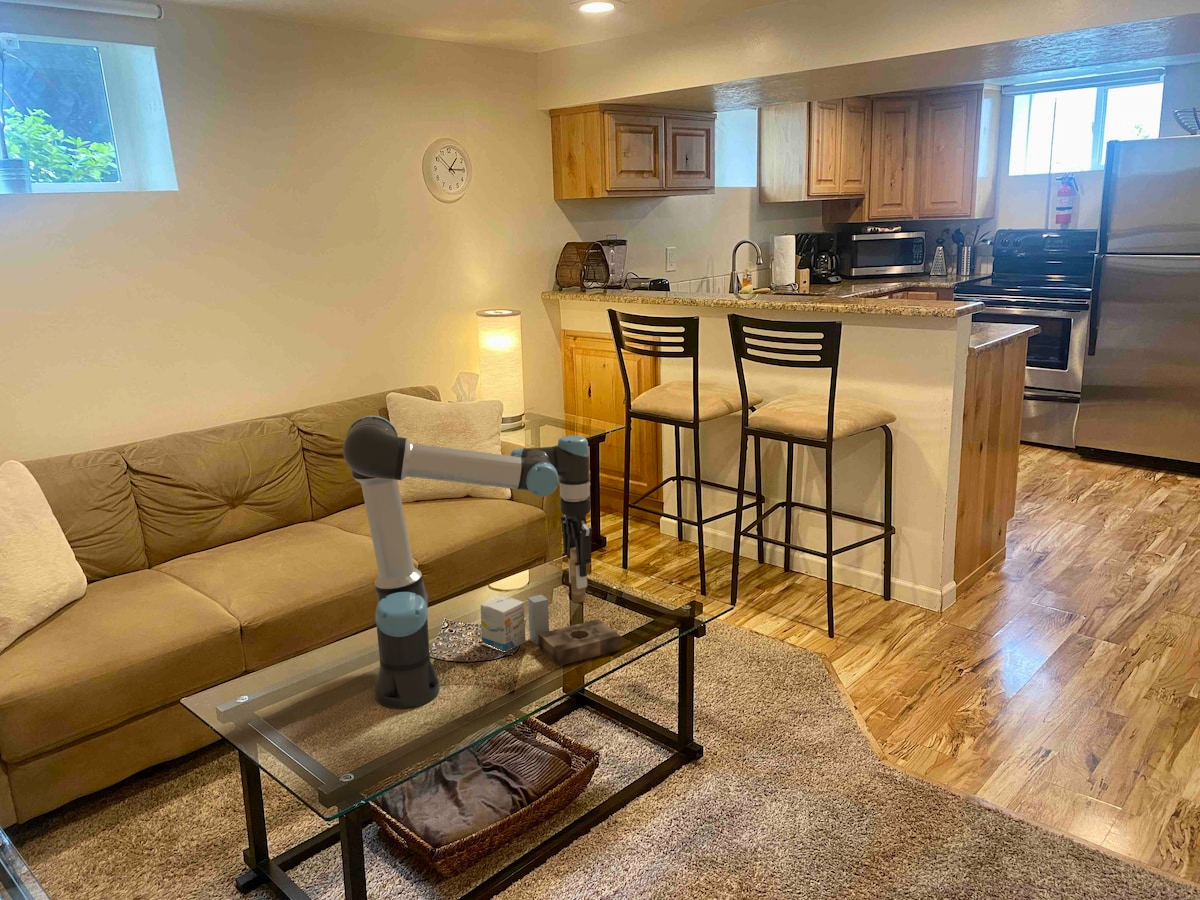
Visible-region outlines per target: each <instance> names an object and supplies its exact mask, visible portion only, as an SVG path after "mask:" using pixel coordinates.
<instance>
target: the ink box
mask: <svg viewBox="0 0 1200 900" xmlns="http://www.w3.org/2000/svg"><path fill="white" fill-rule="evenodd" d="M525 622H526V621H525V602H524V601H522V600H518V599H516V598H512V597H510V596H506V595H500V596H497V597H495V598H493V599H490V600H488V601H487V602H484V603H481V604H480V626H481V643H482V642H484V643H486V644H488V645H491V646H493V647H495V648H497V649H500V650H502V651H507V650H509V649H511V648H513V647H515V648H517V647H518V645H519V646H521V645H522V644H523V643H526V641H527V640H526V626H525V625H526V623H525ZM516 646H517V647H516ZM513 649H514V648H513ZM511 650H512V649H511Z"/></svg>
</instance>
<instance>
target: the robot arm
mask: <svg viewBox="0 0 1200 900" xmlns="http://www.w3.org/2000/svg"><path fill="white" fill-rule="evenodd" d="M557 442H558V443H557V445H554V446H546V447H544V446H543V447H542V446H541V447H523V448H518V449H513V450H511V452H510V455H506V454H497V453H491V452H483V451H474V450H467V449H460V448H458V449H457V448H451V447H443V446H435V445H428V444H421V443H420V444H419V443H412V442H411V441H410V439H409V438H406V437H401V436H398V432H397V430H396V428H395V427H394V425H393V424H392V423H391V422H390V421H389V420H388V419H386V418H384V417H382V416H380V415H379V416H378V415H365V416H363V417H360V418H358V419H357V420H355V421H354V422H353V423H352V424H351V425H350V427H349V428H348V430H347V433H346V437H345V440H344V442H343V445H342V447H343V448H342V454H343V458H344V460H345V463H346V464H347V466H348V467H349V468H350V469H351V470H350V471H351V474H352V478H353V480H355V481H357V482H358V483H359V484H360V486H361V490H362V496H363V501H364V506H365V510H366V515H367V521H368V525H369V526H368V527H369V531H370V536H371V540H372V545H373V546H372V547H373V549H374V550H373V551H374V555H375V560H376V565H377V569H378V570H377V571H378V576H377V578H376V579H375V581H374V588H375V594H376V597H377V605H376V607H375V613H374V621H375V623H376V631H377V632H376V633H377V635H376V636H377V644H378V657H379V670H378V673H377V677H376V681H375V684H374V698H375V701H376V702H377V703H378V705H381V706H383V707H386V708H389V709H410V708H411V709H412V708H415V707H419V706H422V705H425V704H427V703H429V702H431V701H433V700H434V699H435V698H436V697H437V696H438V694H439V693H440V691H441V689H440V678H439V677H438V674H437V672H436V669H435V667H434V666H433V663H432V661H431V655H430V639H429V625H428V624H429V621H428V620H429V619H428V616H429V615H428V613H429V612H428V610H429V609H428V604H429V596H428V591H427V590H426V587H425V583H424V578H423V574H422V572H421V571H422V570H420V569H418V568H416V567H415V564H414V559H413V554H412V549H411V544H410V537H409V533H408V528H407V523H406V517H405V513H404V506H403V501H402V496H401V490H400V486H399V481H403V480H404V479H406V478H407V477H408V478H418V479H426V480H427V479H428V480H436V481H444V482H452V483H462V484H467V485H468V484H469V485H477V486H487V487H493V488H494V487H495V488H504V489H511V490H512V489H513V490H520V491H528V492H530V493H531V494H533V495H535V496H537V497H547V496H548V497H549V496H550V495H551V494H553V493H554V492H555V491H556V490H557V488H558V486H559V496H560V512H561V514H562V516H560V521H561V529H562V546H563V547H562V548H563V553H564V554H566V557H567V558H568V559H567V560H568V583H569V584H570V585H571V562H570V548H571V547H574V546H576V554H577V563H575V565H576V587H577V589H580V588H584V587H585V588H587V587H588V572H587V571H588V564H592V536H593V528H592V527H588V525H587V518H586V516H587V515H588V514H589V513H590V512H591V498H590V496H591V487H590V486H591V482H590V453H589V442H588V440H587V438H586V437H584V436H582V435H567V436H562V437H560V438H558V441H557Z"/></svg>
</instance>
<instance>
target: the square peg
mask: <svg viewBox="0 0 1200 900" xmlns="http://www.w3.org/2000/svg"><path fill="white" fill-rule="evenodd" d="M527 603H528V604H527V606H528V625H529V626H528V627H529V628H528V629H529V640H530V641H531V642H532V643H533V644H534V645H536V646H537V645H539V637H538V634H539V633H543V632H547V631H550V621H549V619H550V617H549V615H550V614H549V599H548V598H547V597H545V596H544V594H539V595H533V596H528V597H527Z"/></svg>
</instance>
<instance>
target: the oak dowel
mask: <svg viewBox="0 0 1200 900" xmlns="http://www.w3.org/2000/svg"><path fill="white" fill-rule="evenodd" d="M570 562H571V584H570V585H571V601H572V602H573V603H584V602H585V601H586V600H587V598H586V596H587V593H586V587H584V588H580V589H577V587H576V565H575V563H577V554H576V546H574V547H571V548H570Z"/></svg>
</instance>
